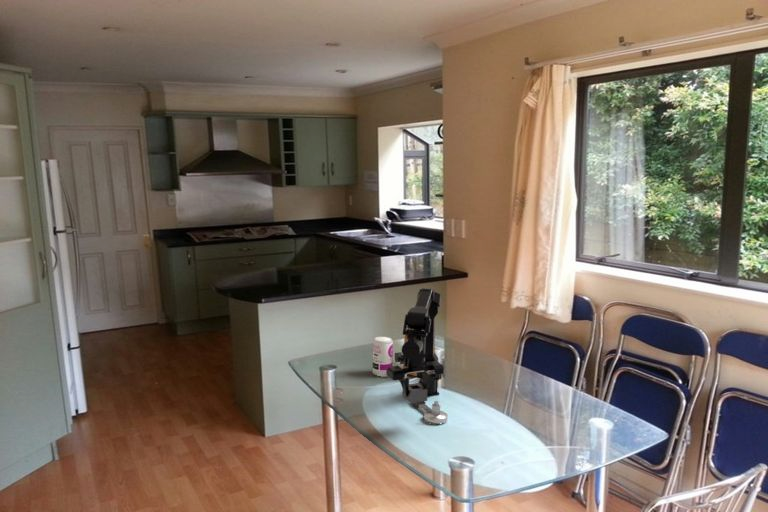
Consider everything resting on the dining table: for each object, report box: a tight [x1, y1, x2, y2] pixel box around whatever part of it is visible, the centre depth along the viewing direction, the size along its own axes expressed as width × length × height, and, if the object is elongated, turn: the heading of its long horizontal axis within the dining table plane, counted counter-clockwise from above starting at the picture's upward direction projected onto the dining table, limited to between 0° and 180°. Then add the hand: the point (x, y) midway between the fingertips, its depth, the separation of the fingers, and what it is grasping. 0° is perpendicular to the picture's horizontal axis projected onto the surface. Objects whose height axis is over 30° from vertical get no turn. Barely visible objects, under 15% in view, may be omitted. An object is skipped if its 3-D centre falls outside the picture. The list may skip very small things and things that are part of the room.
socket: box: [402, 382, 428, 404], centre depth 194 cm, size 6×6×4 cm
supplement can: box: [372, 336, 394, 378], centre depth 243 cm, size 8×8×15 cm
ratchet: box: [410, 400, 448, 425], centre depth 206 cm, size 8×20×6 cm, turn 24°
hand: (414, 395), depth 194 cm, fingers closed on socket, 6 cm apart
